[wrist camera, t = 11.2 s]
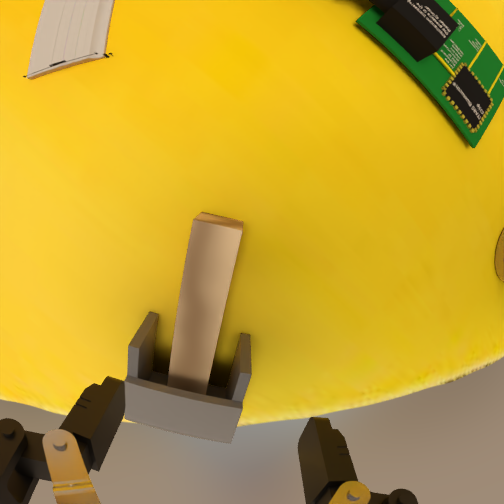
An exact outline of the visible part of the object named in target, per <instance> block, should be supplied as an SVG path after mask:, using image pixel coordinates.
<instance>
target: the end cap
mask: <svg viewBox="0 0 504 504" xmlns="http://www.w3.org/2000/svg"><path fill="white" fill-rule="evenodd" d="M157 322H158V314H157V313H153V312H149V314H148V315H147V317H146V318H145V320H144V321H143V323H142V325H141V326H140V328H139V329H138V331H137V333H136V334H135V336H134V337H133V339H132V341H131V342H130V344H129V346H128V373H127V377H126V379H125V381H124V383H125V404H126V406H125V419H126V420H130V421H133V422H136V423H139V424H143V425H146V426H150V427H154V428H158V429H161V430H165V431H169V432H173V433H177V434H182V435H187V436H191V437H196V438H201V439H206V440H211V441H217V442H223V443H231V441H232V438H233V435H234V433H235V430H236V427H237V424H238V421H239V418H240V415H241V412H242V409H243V399H244V396H245V393H246V390H247V387H248V384H249V381H250V378H251V374H252V373H251V345H250V335H248V334H243V333H241V335H240V339H239V342H238V346H237V350H236V353H235V357H234V361H233V364H232V368H231V372H230V376H229V379H228V383H227V387H226V388H223V387H218V386H213V385H209V384H208V386H207V391H206V395H203V394H198V393H194V392H189V391H185V390H181V389H177V388H172V387H169V386H167V384H168V375H166V374H162V373H158V372H155V371H152V370H153V359H154V349H155V339H156V331H157Z"/></svg>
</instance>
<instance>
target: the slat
mask: <svg viewBox="0 0 504 504" xmlns="http://www.w3.org/2000/svg"><path fill="white" fill-rule="evenodd" d="M242 231H243V221H239V220H235V219H231V218H226V217H222V216H217V215H213V214H208V213H204V212H201V213H200V214H199V215H198V216H197V217H196V218H195V219H194V220H193V224H192V229H191V234H190V239H189V245H188V250H187V255H186V261H185V266H184V272H183V278H182V284H181V290H180V296H179V302H178V309H177V315H176V322H175V329H174V336H173V343H172V351H171V359H170V367H169V375H168V384H167V386H169V387H172V388H177V389H181V390H185V391H189V392H194V393H198V394H203V395H206V391H207V386H208V381H209V377H210V372H211V368H212V363H213V358H214V354H215V349H216V345H217V340H218V336H219V331H220V327H221V322H222V318H223V314H224V309H225V305H226V300H227V296H228V292H229V287H230V283H231V278H232V274H233V270H234V265H235V261H236V257H237V253H238V248H239V244H240V240H241V235H242Z"/></svg>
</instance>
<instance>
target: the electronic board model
mask: <svg viewBox="0 0 504 504" xmlns="http://www.w3.org/2000/svg"><path fill="white" fill-rule="evenodd" d="M369 1H370V2H372V3H373V4H374V6H372V7H371V8H370V9H369V10H368V11H367V12H365V13H364V14H363V15H362V16H361V17H360V18H359V19H357V21H356V22H357V23H358V24H359V25H361V26H362V27H363V28H364V29H365V30H367V31H368V32H369V33H370V34H371V35H372V36H374V37H375V38H376V39H377V40H378V41H379V42H380V43H381V44H383V45H384V46H385V47H386V48H387V49H388V50H389V51H390V52H391V53H392V54H393V55H394V56H395V57H396V58H397V59H398V60H399V61H400V62H401V63H402V64H403V65H404V66H405V67H406V68H407V69H408V70H409V71H410V72H411V73H412V74H413V75H414V76H415V77H416V78H417V79H418V80H419V81H420V82H421V84H422V85H423V86H424V87H425V88H426V89H427V90H428V91H429V93H430V94H431V95H432V96H433V97H434V98H435V100H436V101H437V102H438V103H439V104H440V106H441V107H442V108H443V109H444V111H445V112H446V113H447V114H448V116H449V117H450V118H451V119H452V121H453V122H454V123H455V125H456V126H457V127H458V129H459V130H460V131H461V133H462V134H463V136H464V137H465V138H466V140H467V141H468V143H469V144H470V146H471V147H472V148H475V147H476V145H477V144H478V142H479V140H480V139H481V137H482V135H483V134H484V132H485V130H486V129H487V127H488V125H489V123H490V122H491V120H492V118H493V116H494V115H495V113H496V111H497V109H498V107H499V105H500V104H501V102H502V100H503V98H504V65H503V64H502V63H501V61H500V60H499V58H498V57H497V56H496V54H495V53H494V52H493V50H492V49H491V48H490V46H489V45H488V44H487V42H486V41H485V40H484V39H483V38H482V36H481V35H480V34H479V33H478V31H477V30H476V29H475V28H474V27H473V26H472V24H471V23H470V22H469V21H468V20H467V19H466V18H465V17H464V15H463V14H462V13H461V12H460V11H459V10H458V8H456V7H455V6H454V5H453V4H452V3H451V2H450V1H449V0H369Z"/></svg>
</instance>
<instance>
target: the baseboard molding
mask: <svg viewBox="0 0 504 504" xmlns="http://www.w3.org/2000/svg"><path fill="white" fill-rule="evenodd" d="M114 1H115V0H45V3H44V6H43V9H42V13H41V16H40V20H39V23H38V27H37V31H36V35H35V39H34V44H33V48H32V53H31V58H30V63H29V69H28V75H27V78H28V79H34V78H37V77H40V76H43V75H46V74H49V73H52V72H55V71H58V70H61V69H64V68H68V67H71V66H75V65H78V64H82V63H86V62H89V61H93V60H98V59H102V58H105V57H106V58H108V57H109V56H108V55H107V54H105V53H106V45H107V39H108V33H109V27H110V21H111V16H112V11H113V6H114ZM109 54H111V55H112V53H109ZM112 56H113V55H112ZM23 77H26V76H23Z"/></svg>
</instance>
